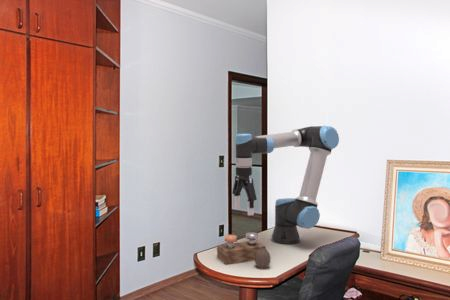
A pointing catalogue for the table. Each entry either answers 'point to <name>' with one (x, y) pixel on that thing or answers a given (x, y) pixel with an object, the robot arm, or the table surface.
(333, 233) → the table surface
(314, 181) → the robot arm
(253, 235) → the grey plunger
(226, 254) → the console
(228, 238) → the terracotta plunger
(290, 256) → the table surface
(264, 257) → the vase
